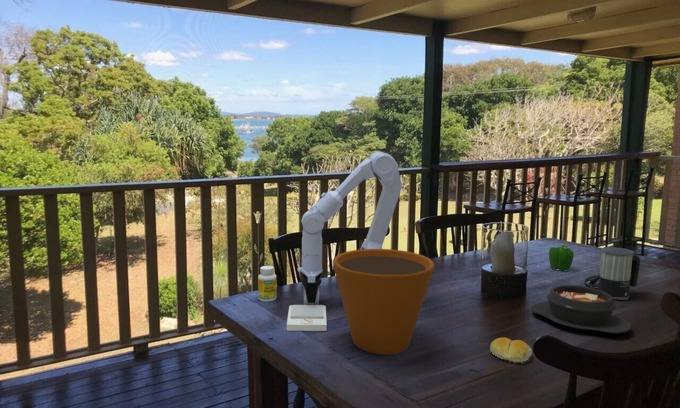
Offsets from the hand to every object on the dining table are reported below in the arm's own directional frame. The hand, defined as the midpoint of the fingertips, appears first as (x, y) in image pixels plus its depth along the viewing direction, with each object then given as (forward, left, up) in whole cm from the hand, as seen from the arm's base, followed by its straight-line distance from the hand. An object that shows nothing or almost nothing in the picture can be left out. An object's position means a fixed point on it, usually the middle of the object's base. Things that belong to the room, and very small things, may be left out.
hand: (311, 299), depth 151 cm
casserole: (-72, +13, -2) cm, 73 cm away
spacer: (0, 0, -2) cm, 2 cm away
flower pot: (-17, +25, -2) cm, 30 cm away
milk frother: (-94, -13, -2) cm, 95 cm away
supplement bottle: (+13, -5, -2) cm, 14 cm away
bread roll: (-46, +33, -2) cm, 57 cm away
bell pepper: (-91, -39, -2) cm, 99 cm away
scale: (+1, +12, -2) cm, 12 cm away
